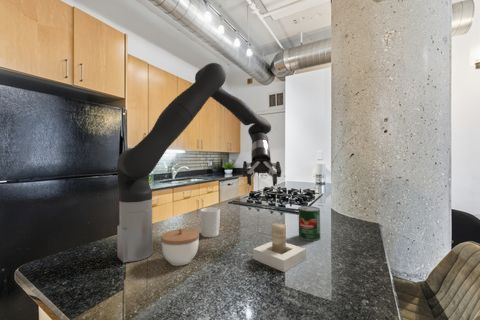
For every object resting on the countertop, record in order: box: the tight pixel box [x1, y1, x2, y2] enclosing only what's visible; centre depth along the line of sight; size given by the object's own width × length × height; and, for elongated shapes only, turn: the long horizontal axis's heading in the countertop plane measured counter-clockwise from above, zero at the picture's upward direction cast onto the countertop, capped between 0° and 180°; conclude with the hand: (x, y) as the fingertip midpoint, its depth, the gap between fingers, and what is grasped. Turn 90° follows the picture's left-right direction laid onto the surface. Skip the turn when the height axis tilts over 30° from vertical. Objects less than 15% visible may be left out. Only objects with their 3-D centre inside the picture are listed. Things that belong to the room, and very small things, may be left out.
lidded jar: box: [160, 227, 200, 267], centre depth 65 cm, size 11×11×9 cm
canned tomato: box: [297, 205, 322, 242], centre depth 85 cm, size 8×8×11 cm
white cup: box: [199, 206, 221, 238], centre depth 88 cm, size 8×8×10 cm
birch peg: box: [271, 222, 287, 254], centre depth 66 cm, size 4×4×10 cm
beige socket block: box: [252, 241, 307, 273], centre depth 66 cm, size 11×11×3 cm
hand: (262, 184), depth 79 cm, fingers open, 8 cm apart
